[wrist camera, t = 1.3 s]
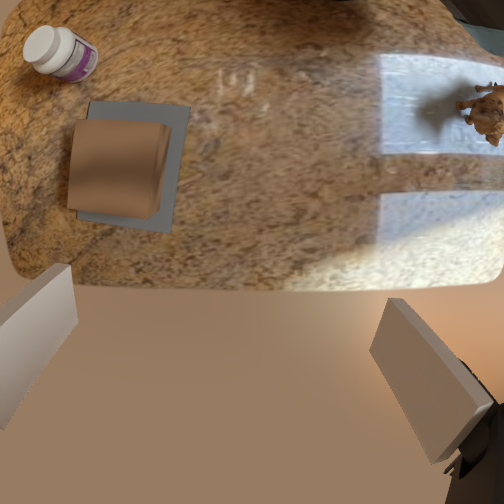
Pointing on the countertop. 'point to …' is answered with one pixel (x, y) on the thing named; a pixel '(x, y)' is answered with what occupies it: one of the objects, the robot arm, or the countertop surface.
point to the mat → (178, 121)
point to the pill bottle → (60, 53)
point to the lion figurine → (487, 113)
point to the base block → (118, 167)
